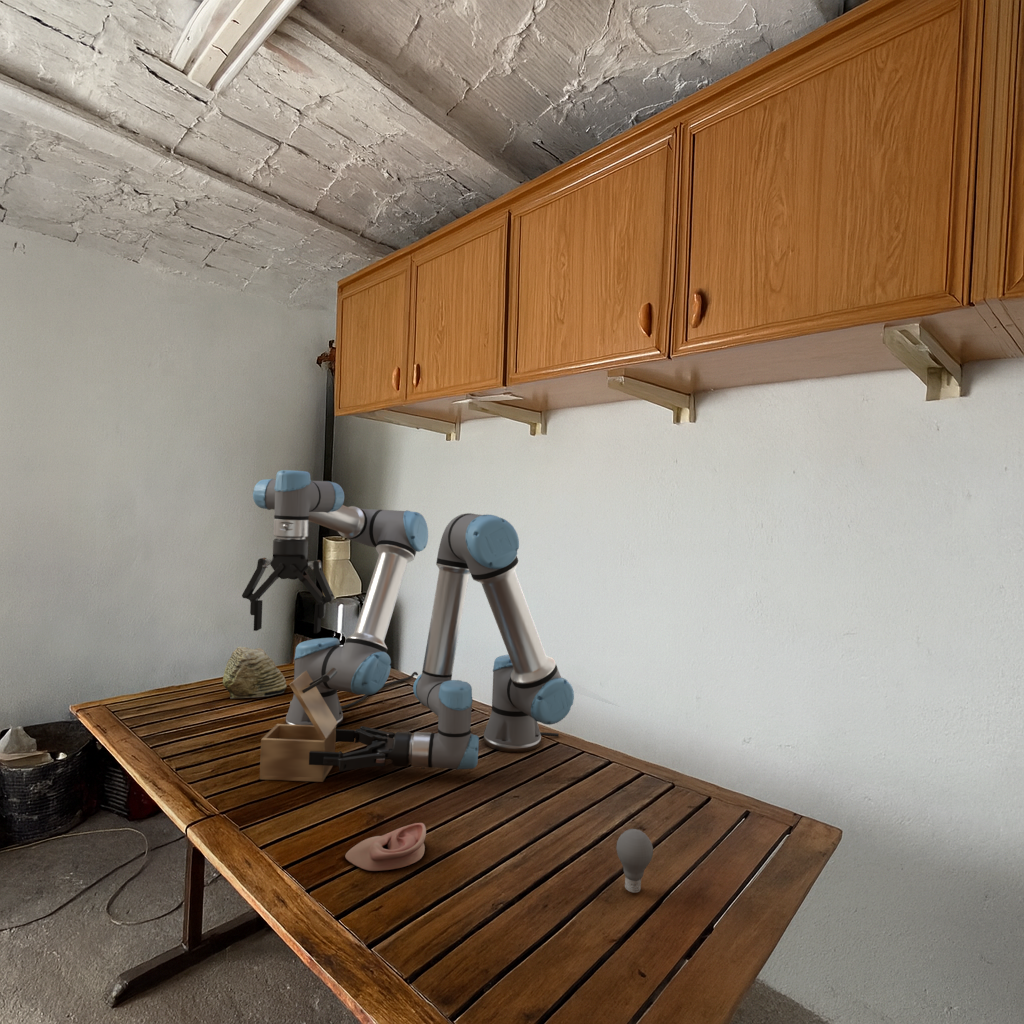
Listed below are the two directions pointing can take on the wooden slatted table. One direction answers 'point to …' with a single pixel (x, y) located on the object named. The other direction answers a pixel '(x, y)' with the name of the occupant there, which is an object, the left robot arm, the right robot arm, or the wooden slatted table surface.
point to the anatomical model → (390, 849)
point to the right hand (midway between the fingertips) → (318, 745)
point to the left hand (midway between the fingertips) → (287, 631)
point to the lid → (315, 701)
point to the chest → (294, 753)
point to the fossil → (252, 674)
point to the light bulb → (634, 857)
